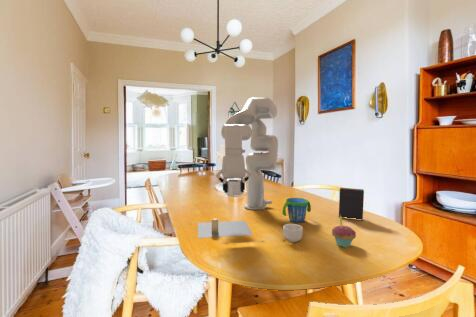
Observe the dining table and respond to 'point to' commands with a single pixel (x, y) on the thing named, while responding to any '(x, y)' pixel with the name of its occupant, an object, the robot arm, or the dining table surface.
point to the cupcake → (343, 234)
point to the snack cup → (296, 209)
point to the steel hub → (234, 187)
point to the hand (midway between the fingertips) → (233, 191)
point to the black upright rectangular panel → (351, 203)
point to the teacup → (292, 232)
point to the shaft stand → (223, 229)
